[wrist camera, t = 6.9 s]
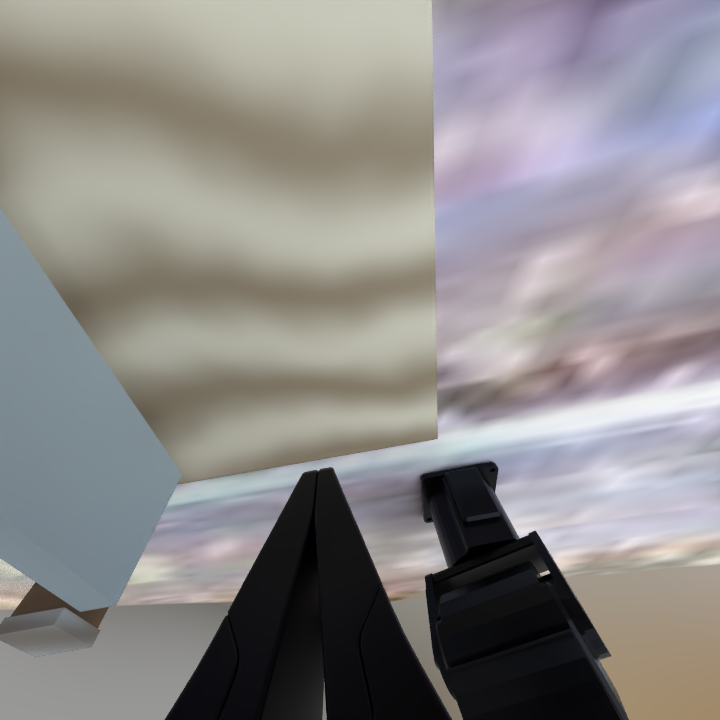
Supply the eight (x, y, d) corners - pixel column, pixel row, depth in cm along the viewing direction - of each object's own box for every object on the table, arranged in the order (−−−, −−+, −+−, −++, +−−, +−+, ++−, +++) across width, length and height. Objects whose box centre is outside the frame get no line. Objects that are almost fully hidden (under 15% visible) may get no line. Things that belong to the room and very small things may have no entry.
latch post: (177, 479, 22) (91, 647, 14) (141, 485, 22) (35, 657, 14) (159, 454, 20) (53, 624, 12) (121, 461, 20) (-9, 635, 12)
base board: (433, 429, 23) (437, 438, 22) (122, 483, 23) (113, 495, 22) (419, -165, 10) (429, -200, 9) (-335, -45, 9) (-403, -69, 8)
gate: (-124, 115, 10) (-850, 1, 4) (-63, 105, 10) (-685, -23, 4) (154, 479, 19) (75, 612, 13) (185, 473, 19) (120, 604, 13)
